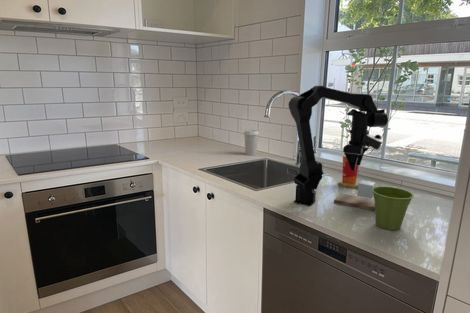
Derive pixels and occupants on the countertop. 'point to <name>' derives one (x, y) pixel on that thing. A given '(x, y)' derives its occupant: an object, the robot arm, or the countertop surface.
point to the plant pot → (390, 206)
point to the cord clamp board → (354, 199)
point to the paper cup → (348, 172)
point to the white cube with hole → (365, 189)
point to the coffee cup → (251, 141)
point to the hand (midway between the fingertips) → (355, 167)
